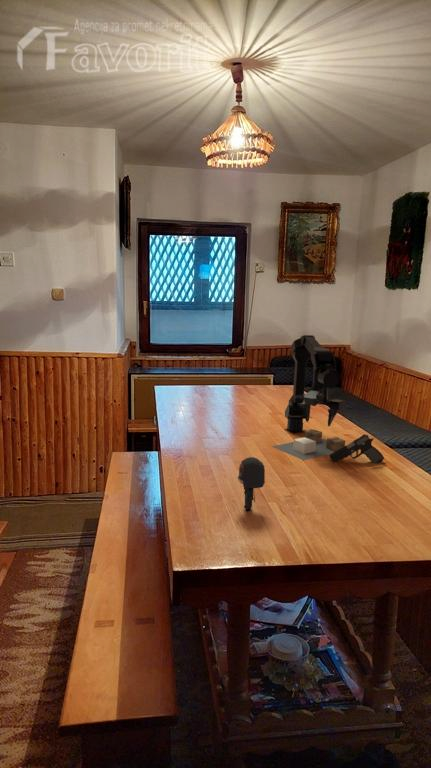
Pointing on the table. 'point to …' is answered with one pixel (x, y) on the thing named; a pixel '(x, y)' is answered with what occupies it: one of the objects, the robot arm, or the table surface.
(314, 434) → the pip block one
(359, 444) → the handgun
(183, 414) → the table surface
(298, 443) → the plain block
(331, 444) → the pip block two
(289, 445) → the mat
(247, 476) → the toy
